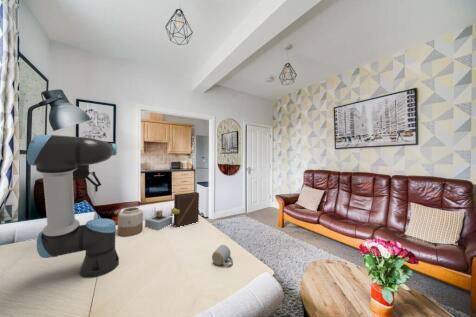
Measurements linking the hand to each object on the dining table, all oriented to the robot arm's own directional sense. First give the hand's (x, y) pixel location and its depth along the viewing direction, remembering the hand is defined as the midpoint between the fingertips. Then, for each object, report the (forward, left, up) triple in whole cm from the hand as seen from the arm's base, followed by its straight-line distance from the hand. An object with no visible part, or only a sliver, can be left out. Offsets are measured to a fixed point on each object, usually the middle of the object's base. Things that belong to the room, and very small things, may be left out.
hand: (80, 198), depth 112 cm
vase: (-12, -25, -28) cm, 40 cm away
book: (-36, -55, -28) cm, 72 cm away
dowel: (-20, -43, -23) cm, 53 cm away
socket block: (-20, -43, -28) cm, 55 cm away
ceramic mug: (-90, -24, -28) cm, 97 cm away
